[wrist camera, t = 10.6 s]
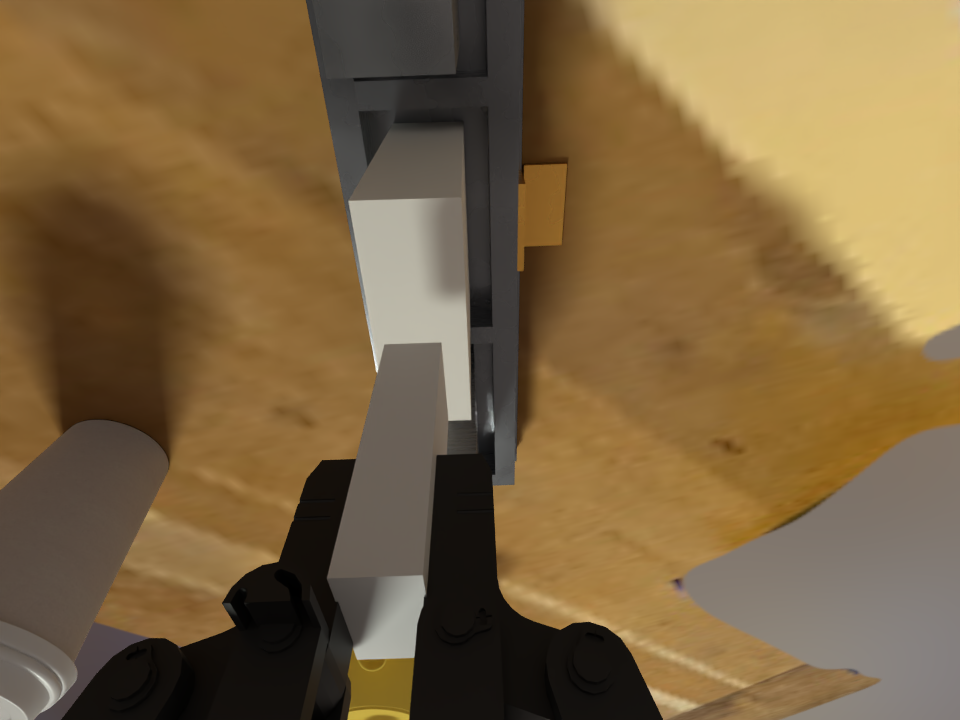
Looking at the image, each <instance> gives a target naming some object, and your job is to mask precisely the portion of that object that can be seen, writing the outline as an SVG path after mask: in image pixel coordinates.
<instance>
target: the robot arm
mask: <svg viewBox="0 0 960 720" xmlns="http://www.w3.org/2000/svg"><path fill="white" fill-rule="evenodd" d="M447 439H448V409H447V398H446V387H445V376H444V365H443V354H442V343H441V342H435V343H407V344H384V348H383V352H382V356H381V360H380V364H379V368H378V372H377V376H376V380H375V385H374V389H373V393H372V397H371V401H370V405H369V409H368V413H367V417H366V421H365V425H364V429H363V433H362V437H361V442H360V446H359V450H358V454H357V458H356V459H345V460H322V461H321V462H320V464H319V465H318V466H317V467H316V468H315V470H314V471H313V472H312V473H311V474H310V476H309V477H308V478H307V480H306V482H305V485H304V488H303V491H302V494H301V497H300V504H298V506H297V509H296V512H295V515H294V521H293V522H292V524H291V527H290V530H289V533H288V536H287V539H286V542H285V544H284V547H283V550H282V553H281V556H280V559H279V562H276V563H271V564H266V565H262V566H260V567H258V568H256V569H255V570H253V571H251V572H249V573H247V574H245V575H244V576H243V577H242V578H241V579H240V580H239V581H238V582H237V583H236V584H235V585H234V586H233V587H232V588H231V589H230V591H229V593H228V594H227V596H226V598H225V599H224V601H223V602H222V604H223V606H224V607H225V609H226V611H227V612H228V614H229V616H230V617H231V619H232V620H233V622H234V624H235V625H236V626H235V627H233V628H231V629H229V630H227V631H225V632H223V633H220V634H217V635H215V636H212V637H209V638H206V639H203V640H201V641H198V642H195V643H192V644H189V645H187V646H184V647H181V648H179V647H178V646H177V645H176V644H174V643H172V642H171V641H169V640H167V639H165V638H149V639H146V640H143V641H140V642H137V643H134V644H132V645H130V646H128V647H127V648H125V649H124V650H122V651H121V652H119V653H118V654H116V655H115V656H113V657H112V658H111V659H110V660H109V661H108V662H107V663H106V664H105V666H103V668H102V669H101V670H100V671H99V672H98V673H97V674H96V675H95V676H94V678H93V679H92V680H91V682H90V683H89V684H88V686H87V687H86V688H85V690H84V691H83V692H82V693H81V695H80V696H79V697H78V699H77V700H76V701H75V703H74V704H73V705H72V707H71V708H70V709H69V710H68V712H67V713H66V714H65V716H64V717H63V718H62V719H61V720H347V719H348V713H349V707H350V701H351V681H350V679H349V677H348V671H349V665H350V660H351V654H352V649H353V650H354V653H355V655H356V658H357V660H366V659H396V658H414V668H413V680H412V691H411V703H410V715H409V720H663V718H662V716H661V714H660V712H659V710H658V708H657V706H656V704H655V702H654V700H653V698H652V696H651V693H650V691H649V689H648V687H647V685H646V683H645V681H644V679H643V677H642V675H641V673H640V671H639V669H638V666H637V664H636V662H635V660H634V658H633V656H632V654H631V653H630V651H629V650H628V648H627V647H626V645H625V644H624V643H623V641H622V640H621V638H620V637H618V636H617V635H616V634H614V633H613V632H612V631H610V630H609V629H608V628H606V627H604V626H600V625H597V624H594V623H591V622H582V623H572V624H571V625H569V626H567V627H565V628H563V629H561V630H559V629H556V628H553V627H549V626H546V625H543V624H540V623H537V622H534V621H531V620H529V619H527V618H525V617H523V616H521V615H520V614H518V613H517V612H516V611H515V610H513V609H512V608H511V607H510V606H509V604H508V603H507V602H506V601H505V599H504V598H503V595H502V593H501V591H500V589H499V585H498V579H497V564H496V544H495V523H494V503H493V482H492V470H491V469H490V467H489V465H488V463H487V462H486V460H485V458H484V457H483V455H482V453H479V454H450V455H447Z"/></svg>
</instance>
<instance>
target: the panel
mask: <svg viewBox="0 0 960 720" xmlns="http://www.w3.org/2000/svg"><path fill="white" fill-rule="evenodd" d="M349 207H350V213H351V218H352V224H353V230H354V235H355V241H356V247H357V252H358V258H359V263H360V269H361V275H362V280H363V286H364V292H365V297H366V303H367V309H368V314H369V320H370V325H371V331H372V337H373V342H374V348H375V354H376V359H377V365H378V368H379V364H380V360H381V356H382V352H383V348H384V344H407V343H435V342H441V343H442V354H443V365H444V376H445V387H446V398H447V409H448V421H454V420H471V352H470V281H469V255H468V229H467V204H466V178H465V152H464V126H463V121H461V122H426V123H393V124H392V126H391V128H390V130H389V131H388V133H387V135H386V137H385V138H384V140H383V142H382V143H381V145H380V147H379V149H378V150H377V152H376V154H375V156H374V157H373V159H372V161H371V163H370V164H369V166H368V168H367V169H366V171H365V173H364V175H363V176H362V178H361V180H360V182H359V183H358V185H357V187H356V189H355V190H354V192H353V194H352V195H351V197H350V199H349Z"/></svg>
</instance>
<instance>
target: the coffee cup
mask: <svg viewBox="0 0 960 720" xmlns="http://www.w3.org/2000/svg"><path fill="white" fill-rule="evenodd" d="M168 469H169V462H168V458H167V456H166V454H165V452H164V450H163V449H162V448H161V447H160V445H159V444H158V443H157V442H156V441H154V440H153V439H152V438H151V437H149V436H148V435H146V434H145V433H143V432H141V431H139V430H137V429H135V428H133V427H131V426H128V425H125V424H122V423H118V422H114V421H108V420H88V421H83V422H80V423H77V424H75V425H73V426H72V427H70V428H69V429H68V430H67V431H66V432H65V433H64V434H63V435H61V436H60V437H59V438H58V439H57V440H56V441H55V442H54V443H53V444H51V445H50V446H49V447H48V448H47V449H46V450H45V451H44V452H43V453H41V454H40V455H39V456H38V457H37V458H36V459H35V460H34V461H33V462H31V463H30V464H29V465H28V466H27V467H26V468H25V469H24V470H23V471H21V472H20V473H19V474H18V475H17V476H16V477H15V478H14V479H13V480H11V481H10V482H9V483H8V484H7V485H6V486H5V487H4V488H3V489H1V490H0V720H34V719H35V718H36V717H37V715H38V714H39V713H41V712H43V711H45V710H47V709H49V708H50V707H51V706H53V705H54V704H55V703H56V702H57V701H58V700H59V699H60V698H61V697H62V696H63V695H64V694H65V693H66V692H67V691H68V689H69V688H70V687H71V686H72V685H73V684H74V682H75V681H76V679H77V669H76V667H75V665H74V661H75V659H76V657H77V655H78V652H79V651H80V649H81V647H82V645H83V643H84V640H85V638H86V636H87V634H88V632H89V630H90V628H91V626H92V624H93V622H94V620H95V618H96V616H97V614H98V612H99V610H100V608H101V606H102V604H103V602H104V600H105V597H106V595H107V593H108V591H109V589H110V587H111V585H112V583H113V581H114V579H115V577H116V575H117V573H118V571H119V569H120V567H121V565H122V563H123V561H124V559H125V557H126V555H127V553H128V551H129V549H130V547H131V545H132V543H133V541H134V539H135V537H136V535H137V533H138V531H139V529H140V527H141V525H142V523H143V521H144V519H145V517H146V515H147V513H148V511H149V509H150V507H151V505H152V503H153V501H154V499H155V497H156V494H157V492H158V490H159V488H160V486H161V484H162V482H163V480H164V478H165V476H166V474H167V472H168Z"/></svg>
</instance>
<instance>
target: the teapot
mask: <svg viewBox="0 0 960 720" xmlns="http://www.w3.org/2000/svg"><path fill="white" fill-rule="evenodd" d="M413 668H414V658H396V659H366V660H357V658H356V655H355V653H354V650H353V649H352V654H351V660H350V665H349V671H348V677H349V679H350V681H351V701H350V707H349V713H348V719H347V720H409V715H410V703H411V691H412V680H413Z"/></svg>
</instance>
